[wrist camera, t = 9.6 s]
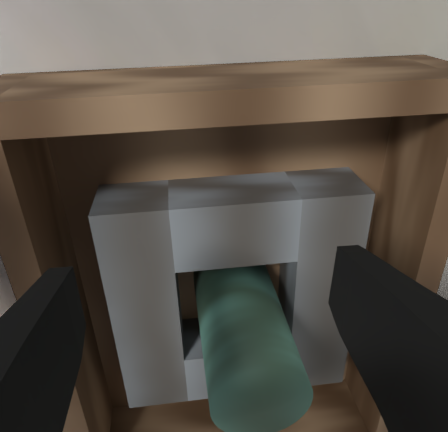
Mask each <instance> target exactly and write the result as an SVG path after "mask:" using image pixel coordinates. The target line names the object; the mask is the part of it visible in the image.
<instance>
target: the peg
mask: <svg viewBox="0 0 448 432" xmlns="http://www.w3.org/2000/svg"><path fill="white" fill-rule="evenodd" d="M193 279H194V287H195V295H196V303H197V311H198V320H199V328H200V336H201V344H202V352H203V360H204V369H205V377H206V385H207V393H208V401H209V409H210V416H211V419H212V421H213V422H214V424H215V425H216V426H217V427H218V428H219V429H221V430H222V431H224V432H278V431H280V430H283V429H285V428H287V427H289V426H290V425H292V424H294V423H295V422H296V421H298V420H299V419H300V418H301V417H302V416H303V415H304V414H305V413H306V412H307V411H308V409H309V407H310V406H311V403H312V400H313V389H312V386H311V383H310V381H309V378H308V375H307V373H306V370H305V367H304V365H303V362H302V360H301V357H300V354H299V352H298V349H297V346H296V344H295V341H294V339H293V336H292V333H291V331H290V328H289V325H288V323H287V320H286V317H285V315H284V312H283V310H282V307H281V304H280V302H279V299H278V296H277V294H276V291H275V288H274V286H273V283H272V281H271V278H270V275H269V273H268V270H267V267H266V265H256V266H246V267H235V268H224V269H213V270H203V271H194V274H193Z"/></svg>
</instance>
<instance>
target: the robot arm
mask: <svg viewBox="0 0 448 432" xmlns="http://www.w3.org/2000/svg"><path fill="white" fill-rule="evenodd" d="M328 303H329V306H330V309H331V312H332V315H333V318H334V321H335V324H336V326H337V329H338V332H339V334H340V336H341V338H342V340H343V342H344V344H345V346H346V348H347V350H348V352H349V354H350V356H351V358H352V360H353V362H354V364H355V365H356V367H357V369H358V371H359V373H360V375H361V377H362V379H363V381H364V383H365V385H366V386H367V388H368V390H369V392H370V394H371V396H372V398H373V400H374V402H375V404H376V406H377V408H378V410H379V412H380V414H381V416H382V418H383V420H384V423H385V425H386V428H387V430H388V432H448V300H446V299H444V298H443V297H441V296H439V295H437V294H436V293H434V292H432V291H431V290H429V289H427V288H426V287H424V286H423V285H421V284H419V283H418V282H416V281H415V280H413V279H411V278H410V277H408V276H407V275H405V274H404V273H402V272H400V271H399V270H397V269H396V268H394V267H393V266H391V265H390V264H388V263H387V262H385V261H384V260H382V259H380V258H379V257H377V256H376V255H374V254H373V253H371V252H369V251H368V250H366V249H364V248H363V247H361V246H359V245H349V246H337V251H336V257H335V263H334V269H333V276H332V282H331V288H330V294H329V301H328ZM85 329H86V322H85V317H84V313H83V309H82V304H81V300H80V295H79V291H78V286H77V282H76V278H75V273H74V269H73V266H70V267H57V268H49V269H48V270H47V271H46V272H44V273H43V275H42V276H41V277H40V278H39V279H38V280H37V281H36V282H35V283H34V284H33V285H32V286H31V287H30V288H29V289H28V290H27V291H26V292H25V293H24V294H23V295H22V296H21V297H20V298H19V299H18V300H17V301H16V302H15V303H14V304H13V305H12V306H11V307H10V308H9V309H8V310H7V311H6V312H5V313H4V314H3V315H2V316H1V317H0V432H63V429H64V425H65V421H66V417H67V414H68V410H69V406H70V402H71V399H72V395H73V391H74V387H75V383H76V380H77V376H78V372H79V368H80V364H81V360H82V353H83V346H84V338H85Z"/></svg>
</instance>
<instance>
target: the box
mask: <svg viewBox="0 0 448 432" xmlns="http://www.w3.org/2000/svg"><path fill="white" fill-rule="evenodd" d="M349 245H359V246H361V247H363V248H364V249H366V250H368V251H369V252H371V253H373V254H374V255H376V256H377V257H379V258H380V259H382V260H384V261H385V262H387V263H388V264H390V265H391V266H393V267H394V268H396V269H397V270H399V271H400V272H402V273H404V274H405V275H407V276H408V277H410V278H411V279H413V280H415V281H416V282H418V283H419V284H421V285H423V286H424V287H426V288H427V289H429V290H431V291H432V292H434V293H436V294H437V291H438V287H439V284H440V281H441V277H442V274H443V271H444V267H445V264H446V260H447V257H448V61H445V60H442V59H438V58H434V57H431V56H427V55H407V56H385V57H364V58H342V59H320V60H298V61H277V62H255V63H233V64H211V65H190V66H168V67H146V68H124V69H103V70H81V71H59V72H37V73H16V74H2V75H0V255H1V258H2V261H3V263H4V266H5V269H6V272H7V275H8V278H9V280H10V283H11V286H12V289H13V292H14V294H15V297H16V300H18V299H19V298H20V297H21V296H22V295H23V294H24V293H25V292H26V291H27V290H28V289H29V288H30V287H31V286H32V285H33V284H34V283H35V282H36V281H37V280H38V279H39V278H40V277H41V276H42V275H43V273H44V272H46V271H47V270H48V269H49V268H57V267H70V266H73V269H74V273H75V278H76V282H77V286H78V291H79V295H80V300H81V304H82V309H83V313H84V317H85V322H86V329H85V338H84V346H83V353H82V360H81V364H80V368H79V372H78V376H77V380H76V383H75V387H74V391H73V395H72V399H71V402H70V406H69V410H68V414H67V417H66V421H65V425H64V429H63V432H224V431H222V430H221V429H219V428H218V427H217V426H216V425H215V424H214V422H213V421H212V419H211V416H210V409H209V401H208V393H207V385H206V377H205V369H204V360H203V352H202V344H201V336H200V328H199V320H198V311H197V303H196V295H195V287H194V279H193V274H194V271H203V270H213V269H224V268H235V267H246V266H256V265H266V267H267V270H268V273H269V275H270V278H271V281H272V283H273V286H274V288H275V291H276V294H277V296H278V299H279V302H280V304H281V307H282V310H283V312H284V315H285V317H286V320H287V323H288V325H289V328H290V331H291V333H292V336H293V339H294V341H295V344H296V346H297V349H298V352H299V354H300V357H301V360H302V362H303V365H304V367H305V370H306V373H307V375H308V378H309V381H310V383H311V386H312V389H313V400H312V403H311V406H310V407H309V409H308V411H307V412H306V413H305V414H304V415H303V416H302V417H301V418H300V419H299V420H298V421H296V422H295V423H294V424H292V425H290V426H289V427H287V428H285V429H283V430H280V431H278V432H388V430H387V428H386V425H385V423H384V420H383V418H382V416H381V414H380V412H379V410H378V408H377V406H376V404H375V402H374V400H373V398H372V396H371V394H370V392H369V390H368V388H367V386H366V385H365V383H364V381H363V379H362V377H361V375H360V373H359V371H358V369H357V367H356V365H355V364H354V362H353V360H352V358H351V356H350V354H349V352H348V350H347V348H346V346H345V344H344V342H343V340H342V338H341V336H340V334H339V332H338V329H337V326H336V324H335V321H334V318H333V315H332V312H331V309H330V306H329V303H328V301H329V294H330V288H331V282H332V276H333V269H334V263H335V257H336V251H337V246H349Z"/></svg>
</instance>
